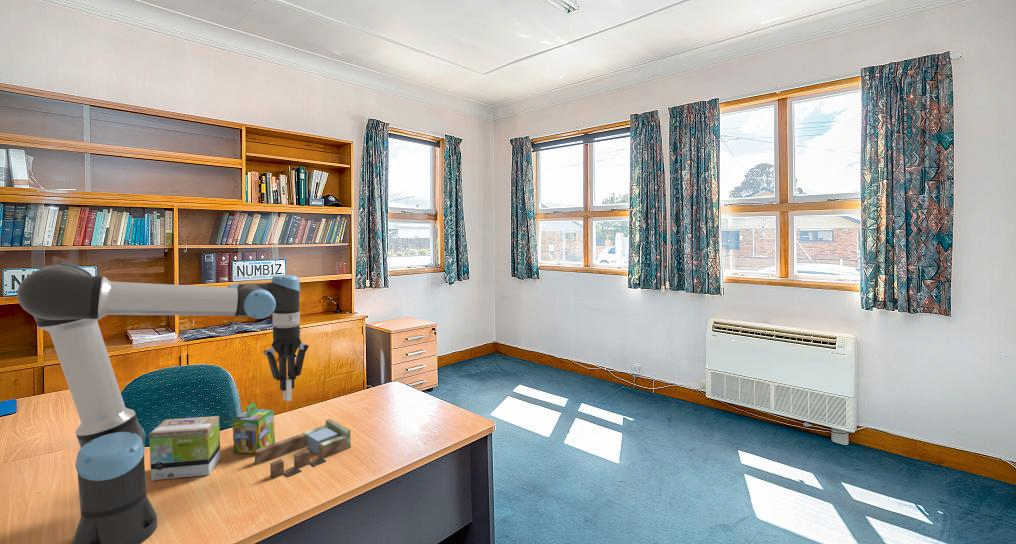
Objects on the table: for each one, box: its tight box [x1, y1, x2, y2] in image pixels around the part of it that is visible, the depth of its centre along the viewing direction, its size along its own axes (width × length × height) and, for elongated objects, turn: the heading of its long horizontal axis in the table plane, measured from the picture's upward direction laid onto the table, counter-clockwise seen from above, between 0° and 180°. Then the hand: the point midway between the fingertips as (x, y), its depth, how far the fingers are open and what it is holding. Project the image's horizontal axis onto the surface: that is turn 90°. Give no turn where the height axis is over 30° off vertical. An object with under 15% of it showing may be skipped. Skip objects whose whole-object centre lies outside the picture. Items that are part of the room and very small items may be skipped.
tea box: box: [148, 415, 221, 482], centre depth 135 cm, size 15×10×15 cm
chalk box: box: [231, 402, 276, 455], centre depth 149 cm, size 9×9×15 cm
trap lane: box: [254, 418, 352, 479], centre depth 145 cm, size 25×16×6 cm, turn 140°
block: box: [306, 428, 338, 456], centre depth 150 cm, size 7×7×5 cm
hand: (287, 399), depth 140 cm, fingers closed
